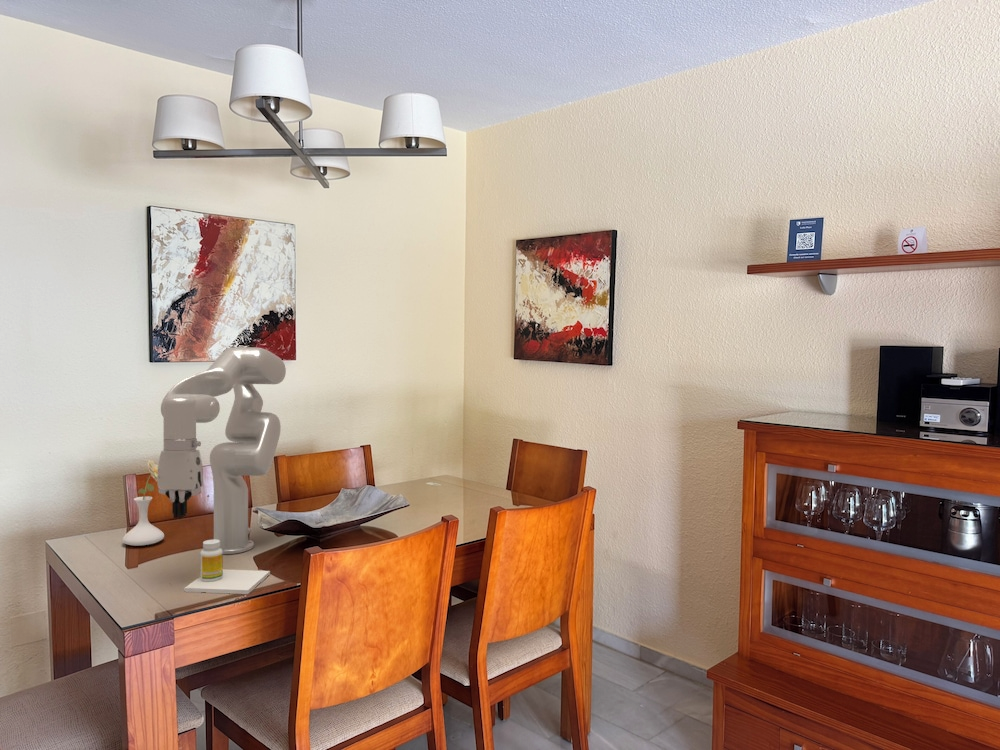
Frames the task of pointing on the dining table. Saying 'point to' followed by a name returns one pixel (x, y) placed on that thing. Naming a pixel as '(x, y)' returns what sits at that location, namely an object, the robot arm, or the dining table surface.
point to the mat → (230, 582)
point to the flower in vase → (144, 517)
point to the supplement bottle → (211, 561)
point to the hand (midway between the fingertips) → (179, 516)
